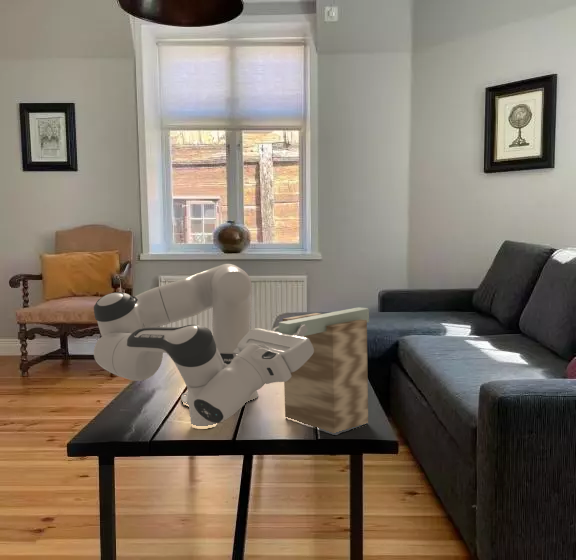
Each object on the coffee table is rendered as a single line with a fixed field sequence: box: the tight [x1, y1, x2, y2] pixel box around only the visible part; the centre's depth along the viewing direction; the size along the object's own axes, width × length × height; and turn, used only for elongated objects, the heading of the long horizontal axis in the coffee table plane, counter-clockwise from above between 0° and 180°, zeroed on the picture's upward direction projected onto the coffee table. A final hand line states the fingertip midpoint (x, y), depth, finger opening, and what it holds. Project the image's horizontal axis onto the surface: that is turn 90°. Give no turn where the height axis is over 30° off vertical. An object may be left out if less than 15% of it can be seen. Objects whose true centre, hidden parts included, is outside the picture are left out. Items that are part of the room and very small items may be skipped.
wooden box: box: [282, 312, 369, 433], centre depth 157 cm, size 12×18×26 cm, turn 41°
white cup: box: [186, 387, 216, 426], centre depth 157 cm, size 8×8×10 cm
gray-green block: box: [278, 306, 370, 336], centre depth 150 cm, size 27×4×4 cm, turn 131°
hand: (296, 325), depth 143 cm, fingers open, 4 cm apart
